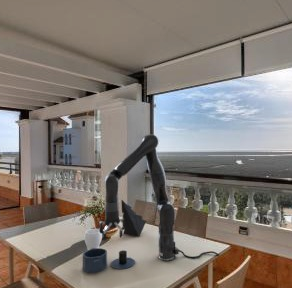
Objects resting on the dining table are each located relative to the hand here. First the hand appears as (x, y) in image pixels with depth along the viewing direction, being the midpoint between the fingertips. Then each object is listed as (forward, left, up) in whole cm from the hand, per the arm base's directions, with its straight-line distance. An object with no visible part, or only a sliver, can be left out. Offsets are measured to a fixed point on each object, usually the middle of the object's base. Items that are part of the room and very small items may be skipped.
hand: (112, 238), depth 137 cm
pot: (+10, -1, -15) cm, 18 cm away
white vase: (+9, -19, -15) cm, 26 cm away
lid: (-5, +1, -15) cm, 16 cm away
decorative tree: (-21, -43, -16) cm, 51 cm away
